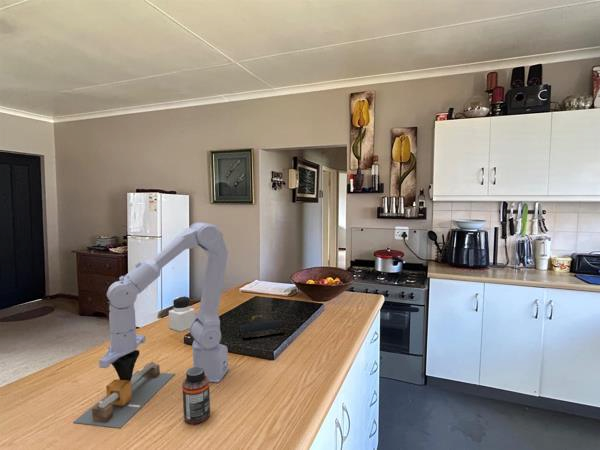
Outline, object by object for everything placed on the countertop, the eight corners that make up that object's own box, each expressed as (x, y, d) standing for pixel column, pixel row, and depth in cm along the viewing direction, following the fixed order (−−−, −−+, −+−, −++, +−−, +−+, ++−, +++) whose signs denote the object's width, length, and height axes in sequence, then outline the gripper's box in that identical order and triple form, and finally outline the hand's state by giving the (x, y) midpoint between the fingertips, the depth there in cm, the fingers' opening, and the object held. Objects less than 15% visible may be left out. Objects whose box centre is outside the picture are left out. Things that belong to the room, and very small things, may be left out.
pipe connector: (237, 316, 130) (274, 311, 135) (237, 329, 130) (274, 324, 135) (243, 328, 119) (283, 322, 124) (243, 342, 120) (283, 336, 125)
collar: (131, 398, 84) (130, 380, 83) (123, 405, 81) (122, 387, 80) (115, 396, 84) (115, 379, 84) (107, 403, 81) (106, 385, 81)
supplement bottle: (187, 409, 81) (185, 364, 80) (212, 407, 81) (210, 363, 80) (180, 425, 75) (178, 377, 74) (207, 424, 75) (206, 376, 75)
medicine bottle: (195, 326, 133) (194, 296, 132) (180, 332, 127) (179, 301, 126) (184, 322, 137) (183, 294, 136) (168, 328, 131) (167, 298, 130)
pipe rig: (175, 374, 97) (174, 360, 96) (120, 428, 74) (119, 410, 74) (137, 371, 99) (136, 357, 98) (73, 422, 76) (72, 405, 76)
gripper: (128, 318, 91) (130, 365, 93) (86, 340, 77) (89, 396, 78) (151, 319, 90) (153, 367, 91) (113, 342, 76) (116, 399, 77)
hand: (125, 381), depth 85 cm, fingers closed
